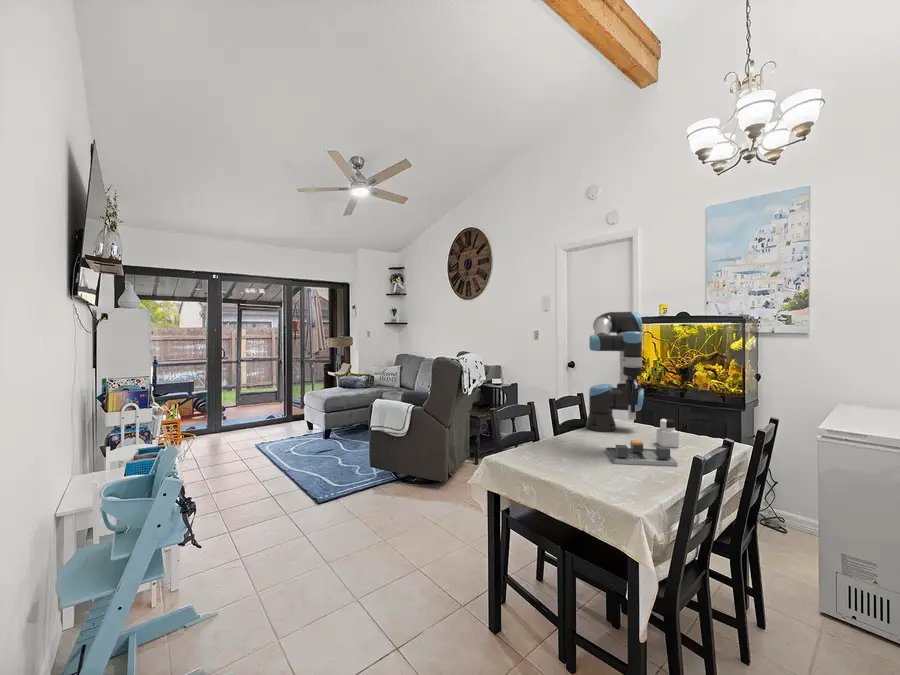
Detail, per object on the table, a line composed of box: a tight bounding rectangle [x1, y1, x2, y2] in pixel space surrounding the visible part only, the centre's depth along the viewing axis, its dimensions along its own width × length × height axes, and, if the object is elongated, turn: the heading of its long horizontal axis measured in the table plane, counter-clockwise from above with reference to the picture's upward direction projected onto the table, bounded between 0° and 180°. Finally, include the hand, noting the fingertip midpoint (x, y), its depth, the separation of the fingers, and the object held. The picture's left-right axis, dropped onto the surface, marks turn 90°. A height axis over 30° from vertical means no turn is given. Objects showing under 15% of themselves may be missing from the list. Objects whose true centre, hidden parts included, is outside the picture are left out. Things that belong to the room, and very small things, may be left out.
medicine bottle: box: [655, 418, 680, 448], centre depth 188 cm, size 7×7×12 cm
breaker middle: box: [630, 439, 644, 452], centre depth 174 cm, size 4×4×4 cm
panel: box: [604, 447, 679, 467], centre depth 171 cm, size 16×24×2 cm, turn 81°
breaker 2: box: [655, 445, 671, 459], centre depth 166 cm, size 4×4×4 cm
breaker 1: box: [615, 444, 629, 458], centre depth 168 cm, size 4×4×4 cm
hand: (632, 419), depth 181 cm, fingers closed
